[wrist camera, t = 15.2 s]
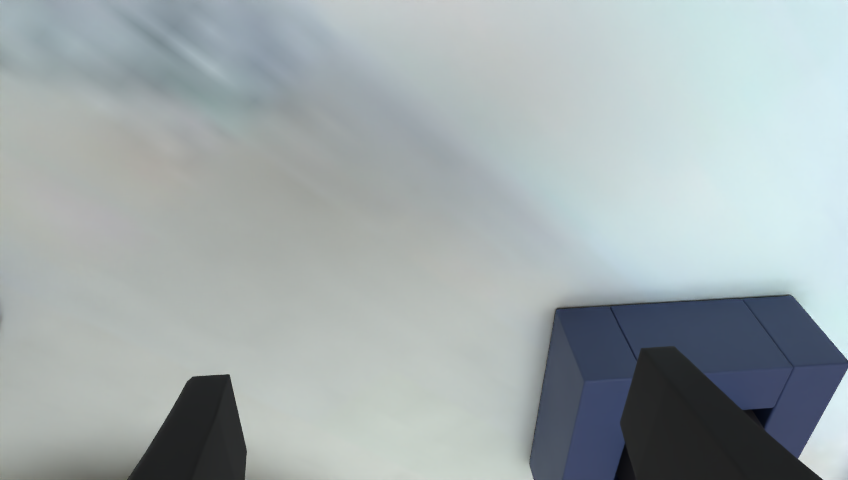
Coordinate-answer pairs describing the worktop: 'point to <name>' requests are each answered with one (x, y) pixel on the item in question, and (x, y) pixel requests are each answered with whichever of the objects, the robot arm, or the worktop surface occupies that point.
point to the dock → (705, 347)
